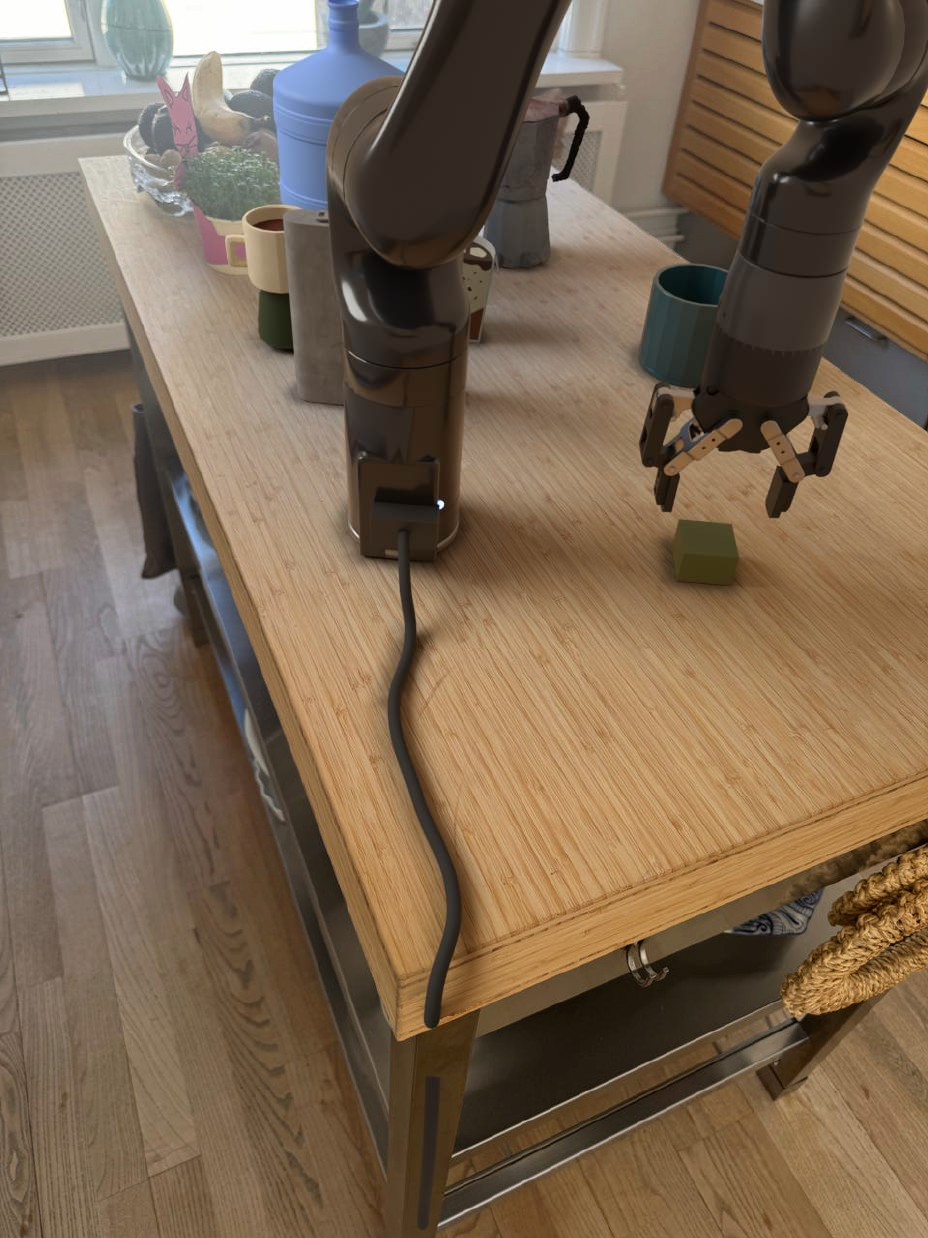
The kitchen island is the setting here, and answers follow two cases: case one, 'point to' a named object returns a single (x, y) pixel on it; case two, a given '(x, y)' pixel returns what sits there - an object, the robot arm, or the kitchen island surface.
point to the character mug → (266, 270)
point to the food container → (478, 281)
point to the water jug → (319, 104)
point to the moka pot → (531, 184)
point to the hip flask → (314, 307)
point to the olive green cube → (704, 552)
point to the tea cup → (680, 322)
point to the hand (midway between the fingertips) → (718, 509)
